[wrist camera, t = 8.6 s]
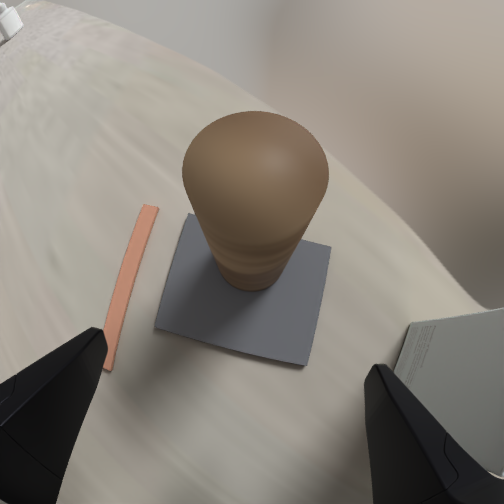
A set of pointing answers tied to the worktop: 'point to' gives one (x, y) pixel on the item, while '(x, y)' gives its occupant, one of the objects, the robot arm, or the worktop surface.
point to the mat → (244, 301)
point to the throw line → (127, 281)
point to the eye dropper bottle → (9, 21)
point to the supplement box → (461, 379)
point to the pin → (254, 192)
